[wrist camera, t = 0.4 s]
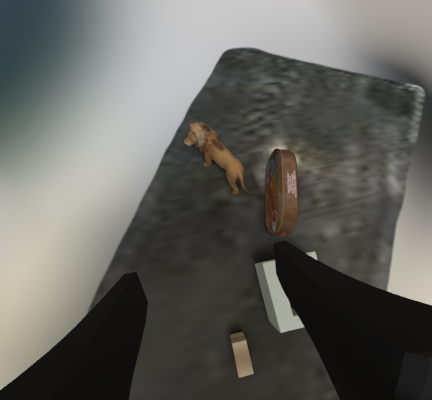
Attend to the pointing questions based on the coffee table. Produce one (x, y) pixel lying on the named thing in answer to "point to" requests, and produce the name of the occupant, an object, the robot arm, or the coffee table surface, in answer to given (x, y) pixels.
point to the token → (241, 354)
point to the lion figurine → (216, 153)
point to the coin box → (277, 297)
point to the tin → (281, 193)
